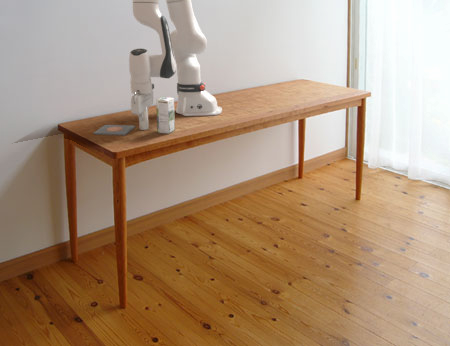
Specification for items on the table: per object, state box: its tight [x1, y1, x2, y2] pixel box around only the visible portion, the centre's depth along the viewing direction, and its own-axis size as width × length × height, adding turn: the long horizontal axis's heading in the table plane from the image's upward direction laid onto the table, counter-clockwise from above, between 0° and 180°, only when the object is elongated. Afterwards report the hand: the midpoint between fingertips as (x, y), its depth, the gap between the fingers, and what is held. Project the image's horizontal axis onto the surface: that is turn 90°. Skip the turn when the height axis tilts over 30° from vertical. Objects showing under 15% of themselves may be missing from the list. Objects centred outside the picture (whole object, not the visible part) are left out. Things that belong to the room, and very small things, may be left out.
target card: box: [93, 124, 136, 136], centre depth 238 cm, size 14×13×1 cm
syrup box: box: [155, 96, 176, 134], centre depth 233 cm, size 6×6×14 cm
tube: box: [138, 107, 150, 131], centre depth 238 cm, size 4×4×10 cm
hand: (143, 119), depth 238 cm, fingers closed on tube, 4 cm apart
